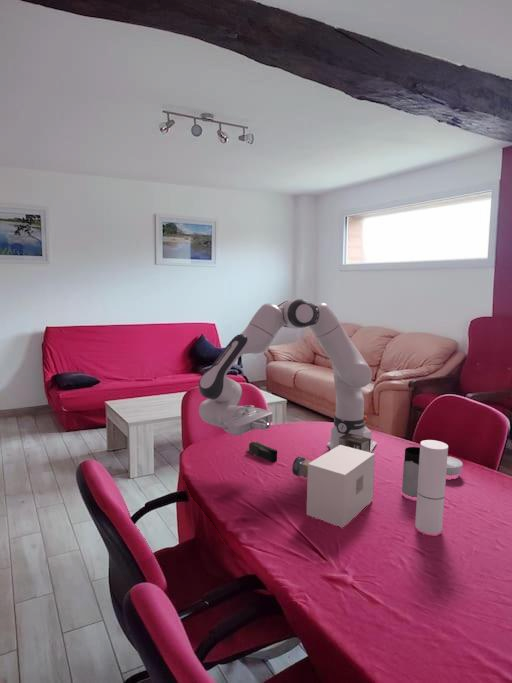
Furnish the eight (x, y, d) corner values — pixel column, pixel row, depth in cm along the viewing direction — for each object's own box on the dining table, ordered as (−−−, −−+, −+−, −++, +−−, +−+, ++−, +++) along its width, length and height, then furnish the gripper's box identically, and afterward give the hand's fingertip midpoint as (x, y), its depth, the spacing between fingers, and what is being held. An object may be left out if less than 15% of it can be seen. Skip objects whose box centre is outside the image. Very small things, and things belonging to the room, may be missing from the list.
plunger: (302, 471, 153) (302, 454, 152) (342, 484, 144) (343, 465, 143) (292, 477, 148) (292, 459, 147) (333, 491, 139) (334, 472, 138)
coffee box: (369, 483, 159) (371, 438, 156) (359, 489, 154) (362, 443, 152) (346, 475, 165) (348, 432, 163) (336, 481, 160) (338, 436, 158)
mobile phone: (278, 449, 177) (249, 438, 187) (273, 451, 175) (244, 440, 185) (278, 461, 178) (249, 450, 188) (273, 463, 176) (244, 452, 185)
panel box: (338, 490, 153) (339, 444, 151) (372, 502, 146) (374, 453, 143) (306, 515, 137) (307, 463, 135) (342, 528, 130) (345, 474, 128)
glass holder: (395, 495, 151) (398, 451, 148) (414, 481, 161) (417, 440, 159) (421, 504, 145) (424, 458, 143) (439, 489, 155) (442, 446, 153)
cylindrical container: (441, 525, 132) (447, 441, 129) (442, 538, 126) (449, 450, 122) (415, 520, 135) (420, 438, 131) (414, 533, 128) (420, 447, 125)
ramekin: (427, 478, 164) (428, 464, 163) (428, 466, 174) (429, 453, 173) (462, 484, 159) (463, 469, 159) (461, 471, 170) (462, 457, 169)
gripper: (216, 416, 155) (248, 425, 147) (253, 404, 172) (284, 411, 163) (216, 434, 156) (248, 444, 148) (253, 420, 172) (284, 428, 164)
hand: (267, 426), depth 156 cm, fingers closed
